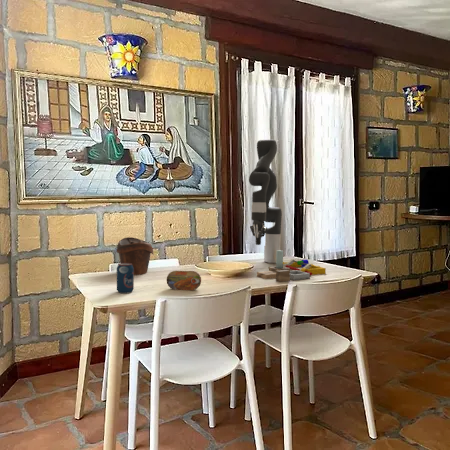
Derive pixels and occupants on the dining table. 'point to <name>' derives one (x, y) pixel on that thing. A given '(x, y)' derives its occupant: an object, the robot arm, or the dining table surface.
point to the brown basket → (135, 253)
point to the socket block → (278, 269)
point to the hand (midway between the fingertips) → (258, 244)
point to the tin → (183, 280)
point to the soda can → (125, 278)
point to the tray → (299, 275)
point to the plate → (266, 274)
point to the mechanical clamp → (304, 267)
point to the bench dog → (282, 275)
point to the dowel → (279, 259)
